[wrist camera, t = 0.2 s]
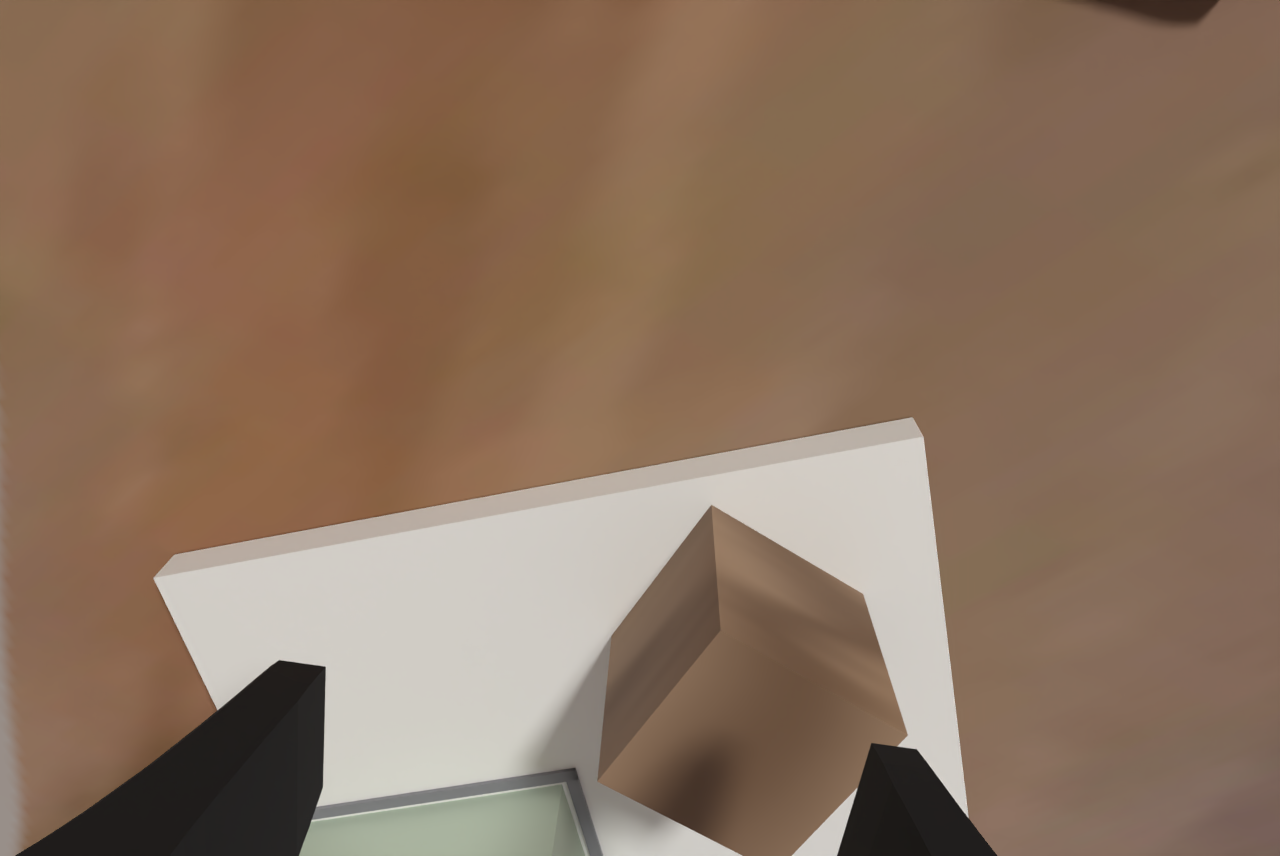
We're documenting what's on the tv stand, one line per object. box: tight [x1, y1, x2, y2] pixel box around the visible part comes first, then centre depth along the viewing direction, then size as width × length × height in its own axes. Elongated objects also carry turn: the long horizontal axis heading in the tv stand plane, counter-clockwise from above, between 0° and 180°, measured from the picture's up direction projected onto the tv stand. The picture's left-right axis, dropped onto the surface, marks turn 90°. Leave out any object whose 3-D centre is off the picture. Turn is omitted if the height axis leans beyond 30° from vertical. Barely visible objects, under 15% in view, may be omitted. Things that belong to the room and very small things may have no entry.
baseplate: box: [154, 417, 968, 856], centre depth 25 cm, size 16×17×1 cm
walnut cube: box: [597, 505, 908, 856], centre depth 20 cm, size 4×4×4 cm
